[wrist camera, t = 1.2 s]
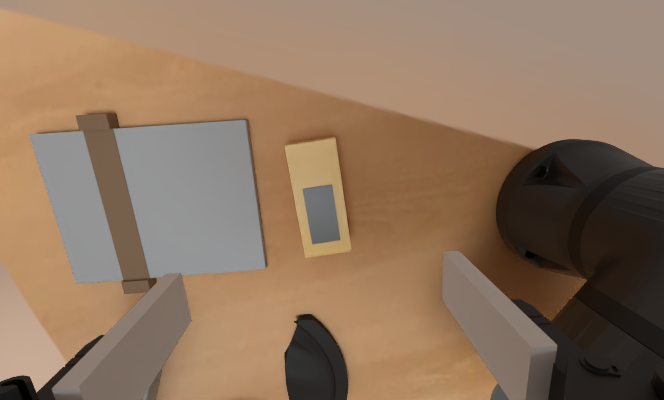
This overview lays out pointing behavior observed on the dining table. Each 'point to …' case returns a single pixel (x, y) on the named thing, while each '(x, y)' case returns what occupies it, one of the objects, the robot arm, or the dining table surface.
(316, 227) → the stud finder block
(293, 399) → the curved wedge
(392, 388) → the dining table surface
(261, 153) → the dining table surface
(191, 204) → the subfloor panel
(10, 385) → the robot arm
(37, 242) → the dining table surface
